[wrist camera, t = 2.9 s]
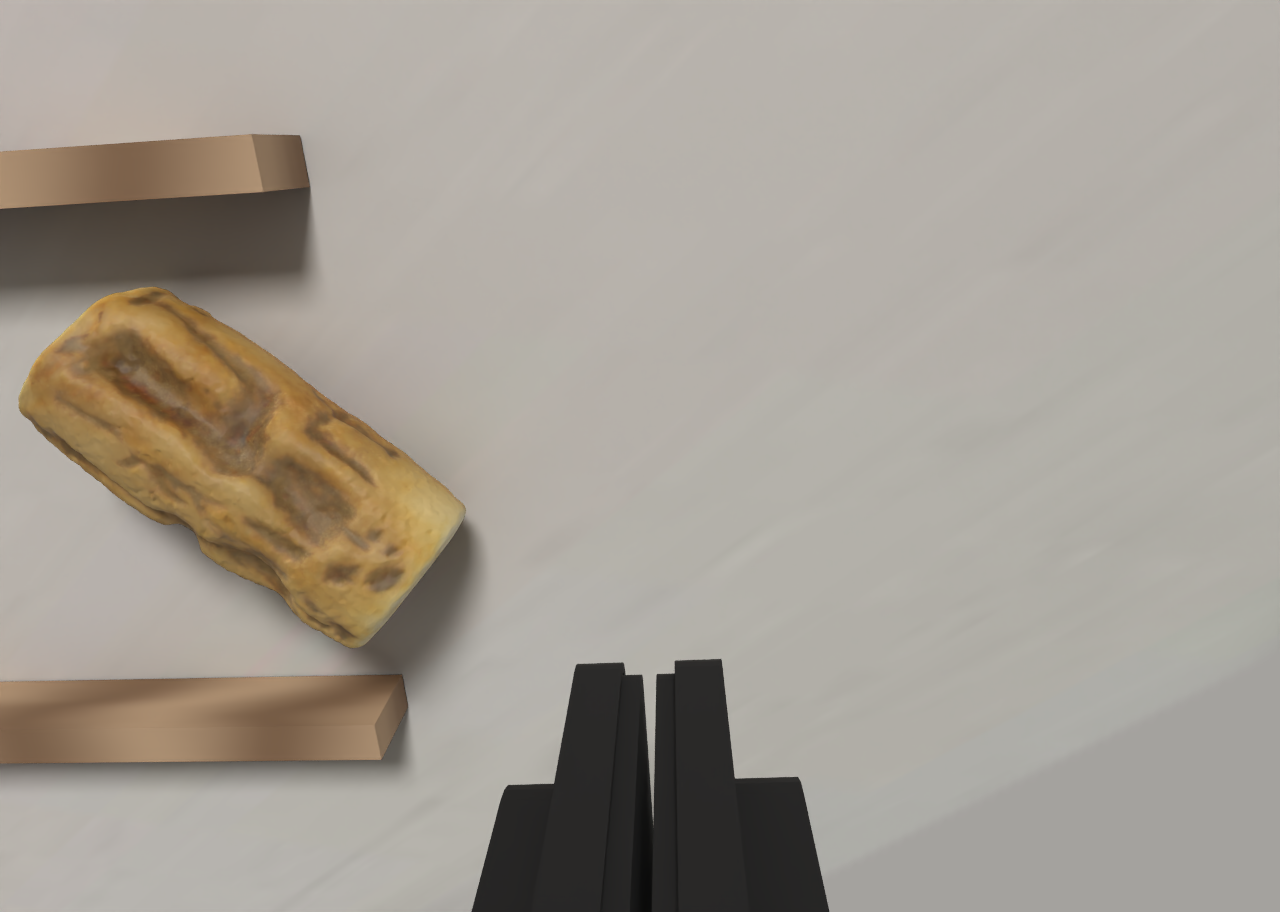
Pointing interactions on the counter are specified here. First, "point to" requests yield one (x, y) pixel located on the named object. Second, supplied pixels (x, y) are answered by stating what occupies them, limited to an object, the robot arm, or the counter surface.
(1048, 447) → the counter surface
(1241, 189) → the counter surface
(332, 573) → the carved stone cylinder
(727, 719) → the robot arm
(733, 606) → the counter surface
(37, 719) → the bay
